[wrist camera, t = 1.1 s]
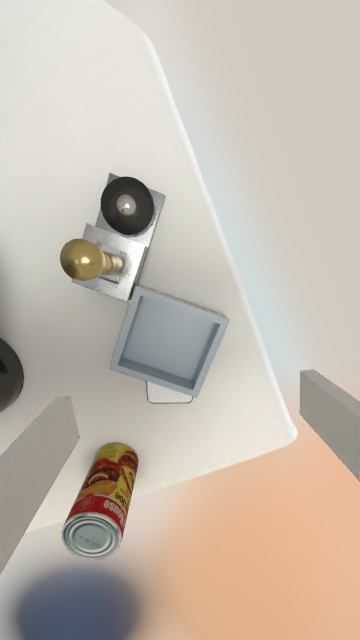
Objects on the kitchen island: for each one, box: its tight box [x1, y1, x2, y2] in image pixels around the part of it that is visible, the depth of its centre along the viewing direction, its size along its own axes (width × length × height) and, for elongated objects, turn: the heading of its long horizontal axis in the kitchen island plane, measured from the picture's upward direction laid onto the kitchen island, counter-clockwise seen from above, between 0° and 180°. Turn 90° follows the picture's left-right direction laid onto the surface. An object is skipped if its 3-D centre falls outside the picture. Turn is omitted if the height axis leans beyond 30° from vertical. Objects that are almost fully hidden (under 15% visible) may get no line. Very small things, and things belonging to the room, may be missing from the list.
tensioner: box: [71, 173, 165, 302], centre depth 31 cm, size 16×8×4 cm, turn 160°
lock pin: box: [60, 239, 122, 281], centre depth 26 cm, size 4×4×10 cm
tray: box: [109, 285, 230, 398], centre depth 34 cm, size 14×13×4 cm
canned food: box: [62, 443, 138, 560], centre depth 34 cm, size 8×8×12 cm
